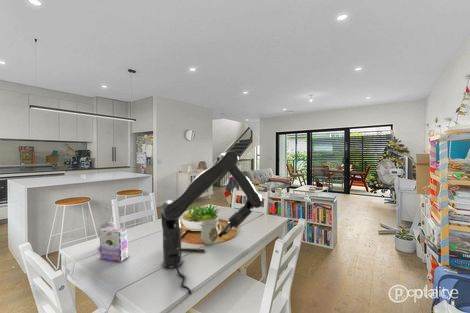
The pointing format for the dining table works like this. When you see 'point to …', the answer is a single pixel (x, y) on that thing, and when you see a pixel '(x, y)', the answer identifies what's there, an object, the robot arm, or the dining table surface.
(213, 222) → the pitcher
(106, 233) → the candy box
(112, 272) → the dining table surface
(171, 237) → the robot arm
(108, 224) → the french press
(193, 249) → the bay
